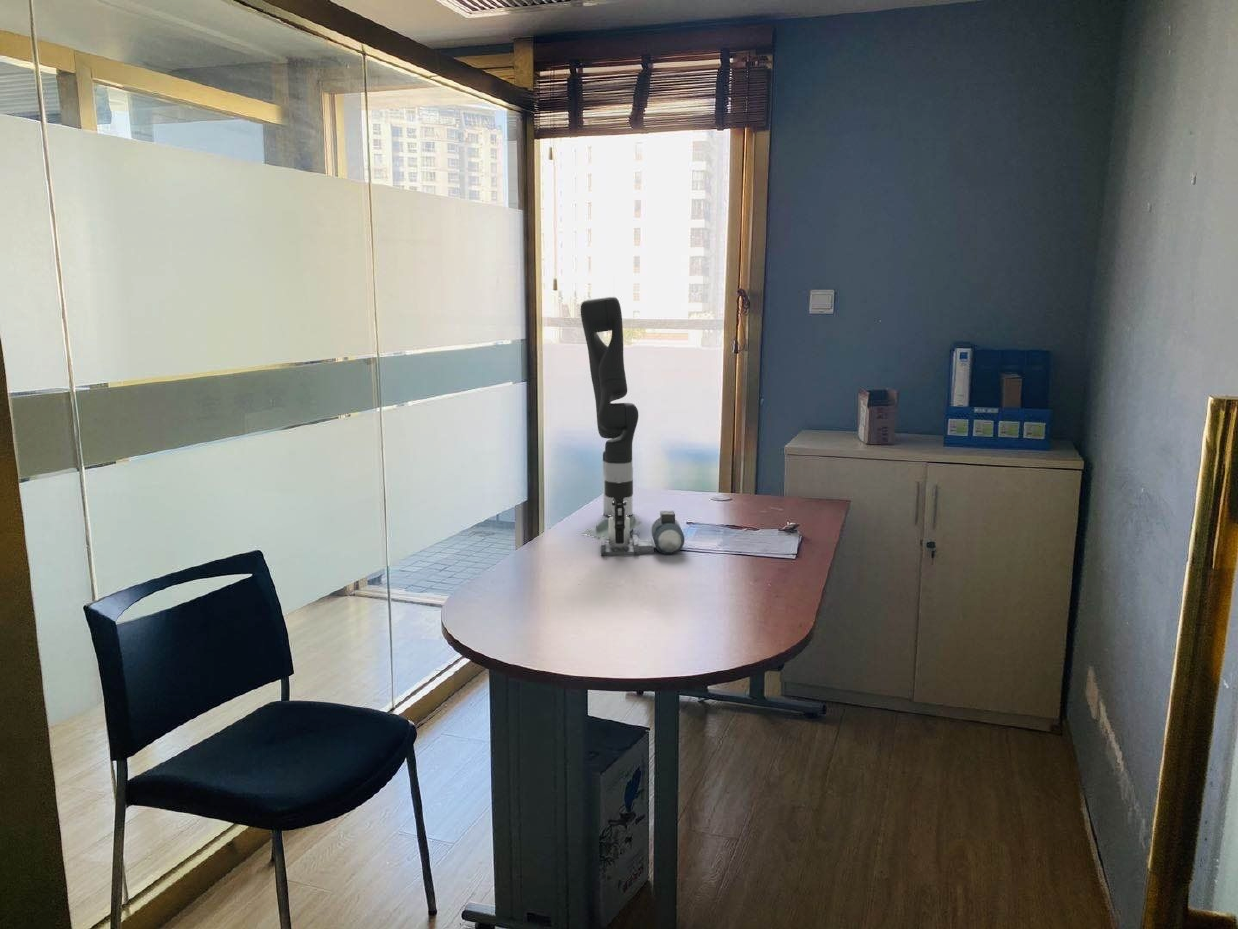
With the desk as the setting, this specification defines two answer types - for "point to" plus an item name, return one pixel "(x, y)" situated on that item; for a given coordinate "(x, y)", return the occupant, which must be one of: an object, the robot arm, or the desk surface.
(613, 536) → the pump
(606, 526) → the metal bracket
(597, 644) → the desk surface
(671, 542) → the motor
